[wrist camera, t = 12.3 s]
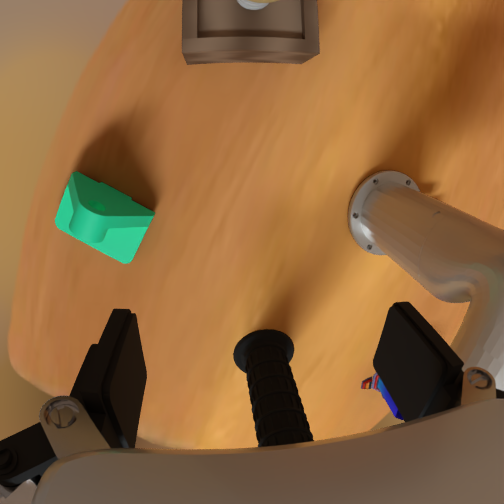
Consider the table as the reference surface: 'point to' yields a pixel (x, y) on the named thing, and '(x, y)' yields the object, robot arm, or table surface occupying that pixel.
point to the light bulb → (255, 3)
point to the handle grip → (272, 388)
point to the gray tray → (249, 32)
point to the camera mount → (103, 217)
